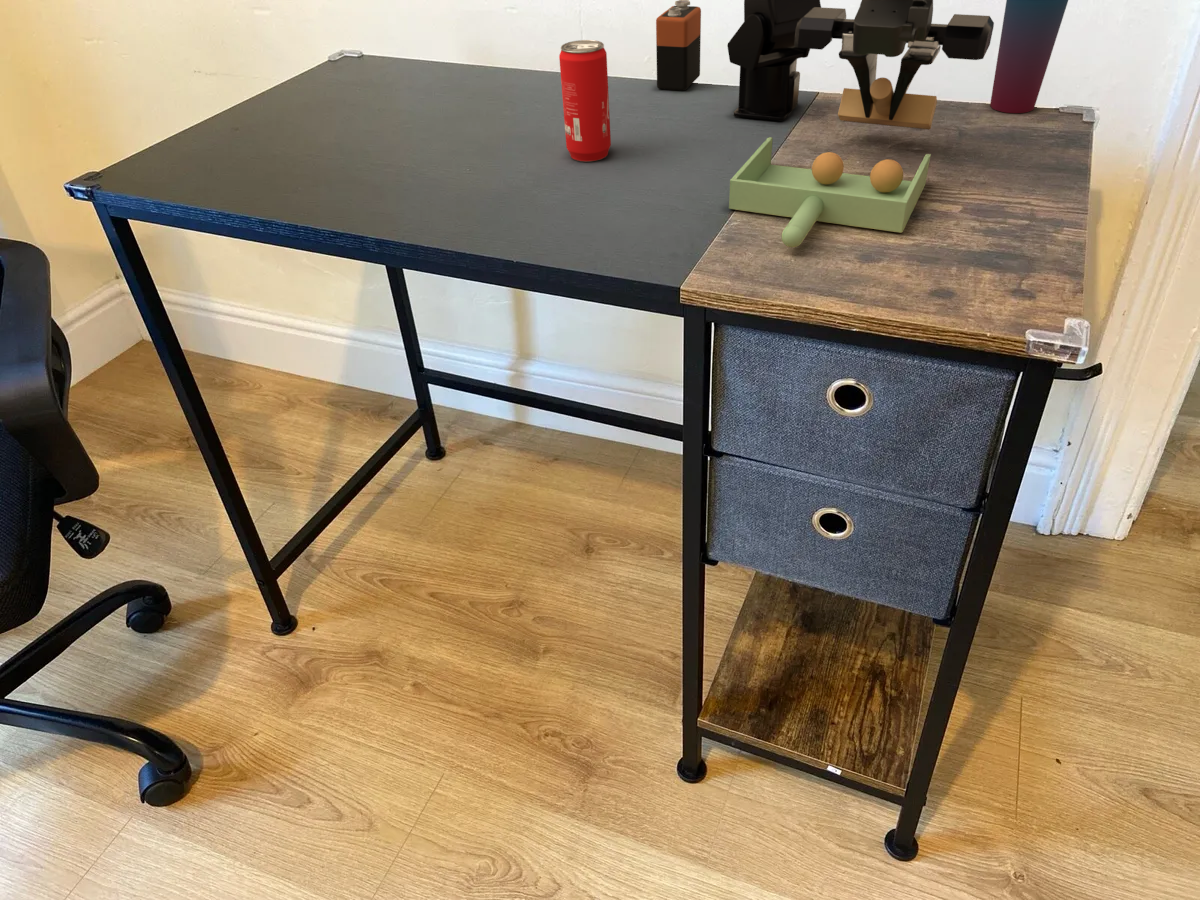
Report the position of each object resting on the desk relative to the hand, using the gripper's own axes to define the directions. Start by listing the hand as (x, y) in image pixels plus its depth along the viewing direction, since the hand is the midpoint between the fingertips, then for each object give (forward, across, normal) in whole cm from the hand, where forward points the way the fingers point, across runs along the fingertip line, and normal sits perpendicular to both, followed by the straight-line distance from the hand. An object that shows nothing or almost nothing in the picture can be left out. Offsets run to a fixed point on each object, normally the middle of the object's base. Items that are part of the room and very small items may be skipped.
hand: (879, 117), depth 95 cm
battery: (+4, -31, +19) cm, 37 cm away
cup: (+4, +12, +21) cm, 25 cm away
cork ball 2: (+2, +3, -10) cm, 10 cm away
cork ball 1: (+2, -3, -9) cm, 10 cm away
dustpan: (+4, -2, -16) cm, 17 cm away
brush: (+1, 0, +6) cm, 6 cm away
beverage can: (+4, -31, -9) cm, 32 cm away
